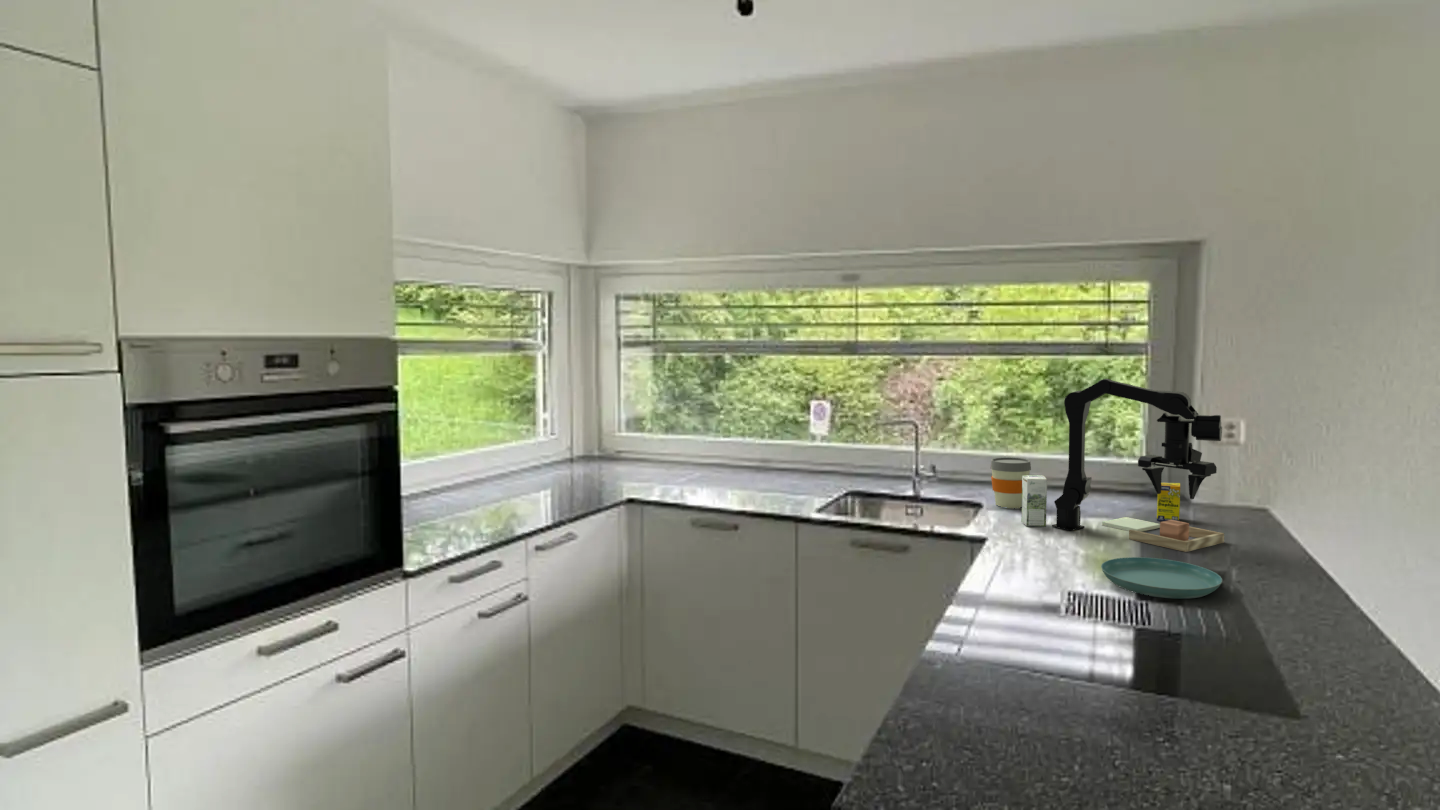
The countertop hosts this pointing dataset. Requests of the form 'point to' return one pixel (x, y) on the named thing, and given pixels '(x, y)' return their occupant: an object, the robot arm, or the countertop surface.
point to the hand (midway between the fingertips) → (1175, 496)
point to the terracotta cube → (1175, 530)
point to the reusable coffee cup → (1009, 480)
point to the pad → (1131, 524)
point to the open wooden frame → (1201, 541)
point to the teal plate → (1161, 577)
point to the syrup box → (1034, 500)
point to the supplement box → (1168, 502)
